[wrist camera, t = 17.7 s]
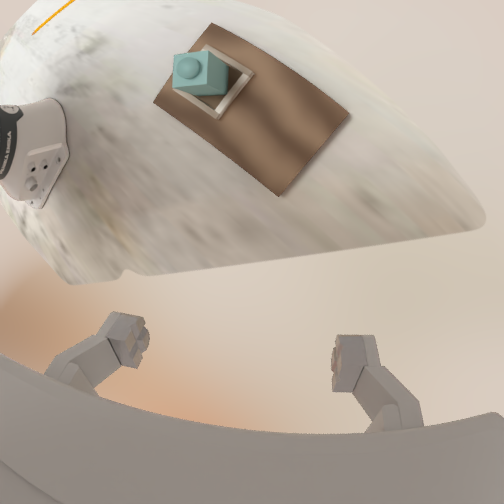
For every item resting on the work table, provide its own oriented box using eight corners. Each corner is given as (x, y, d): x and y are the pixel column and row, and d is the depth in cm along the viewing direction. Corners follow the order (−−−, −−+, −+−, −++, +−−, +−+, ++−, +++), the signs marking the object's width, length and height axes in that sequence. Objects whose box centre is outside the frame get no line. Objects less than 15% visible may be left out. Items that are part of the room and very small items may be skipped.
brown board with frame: (279, 195, 38) (277, 198, 36) (158, 103, 37) (148, 101, 34) (348, 114, 33) (350, 111, 30) (215, 26, 31) (208, 19, 29)
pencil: (93, -12, 30) (91, -13, 30) (32, 37, 36) (30, 36, 35) (93, -15, 30) (91, -16, 30) (32, 34, 35) (30, 34, 35)
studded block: (227, 94, 33) (203, 82, 26) (198, 96, 34) (168, 86, 27) (228, 66, 32) (205, 48, 24) (199, 68, 33) (170, 53, 25)
